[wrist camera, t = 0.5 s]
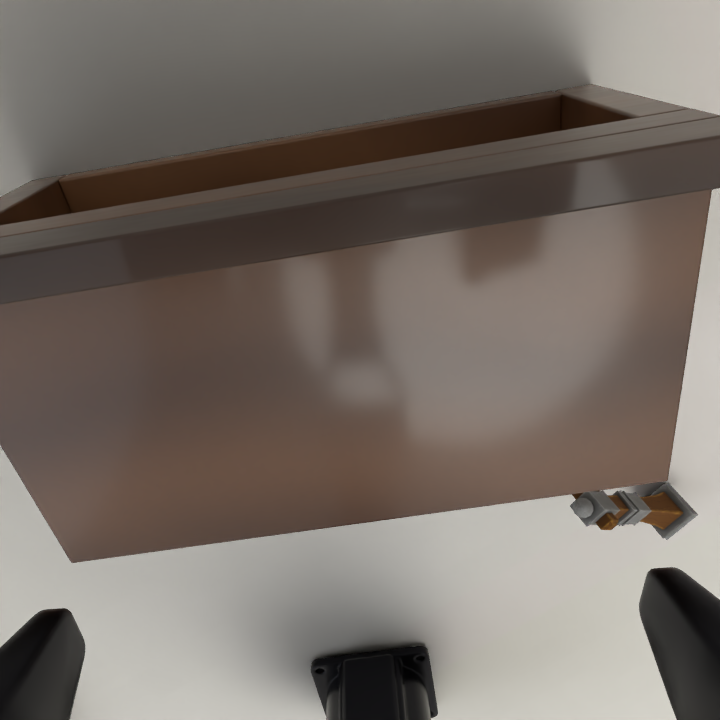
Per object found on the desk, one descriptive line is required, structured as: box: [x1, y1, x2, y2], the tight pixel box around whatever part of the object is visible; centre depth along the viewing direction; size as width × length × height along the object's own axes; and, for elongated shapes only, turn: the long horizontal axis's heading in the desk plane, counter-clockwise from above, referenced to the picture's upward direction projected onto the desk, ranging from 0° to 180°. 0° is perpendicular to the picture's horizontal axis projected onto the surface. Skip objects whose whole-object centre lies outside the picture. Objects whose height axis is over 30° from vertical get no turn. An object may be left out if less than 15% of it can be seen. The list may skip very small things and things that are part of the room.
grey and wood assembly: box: [570, 483, 698, 540], centre depth 24 cm, size 2×8×4 cm, turn 58°
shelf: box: [0, 84, 720, 563], centre depth 17 cm, size 10×18×8 cm, turn 99°
